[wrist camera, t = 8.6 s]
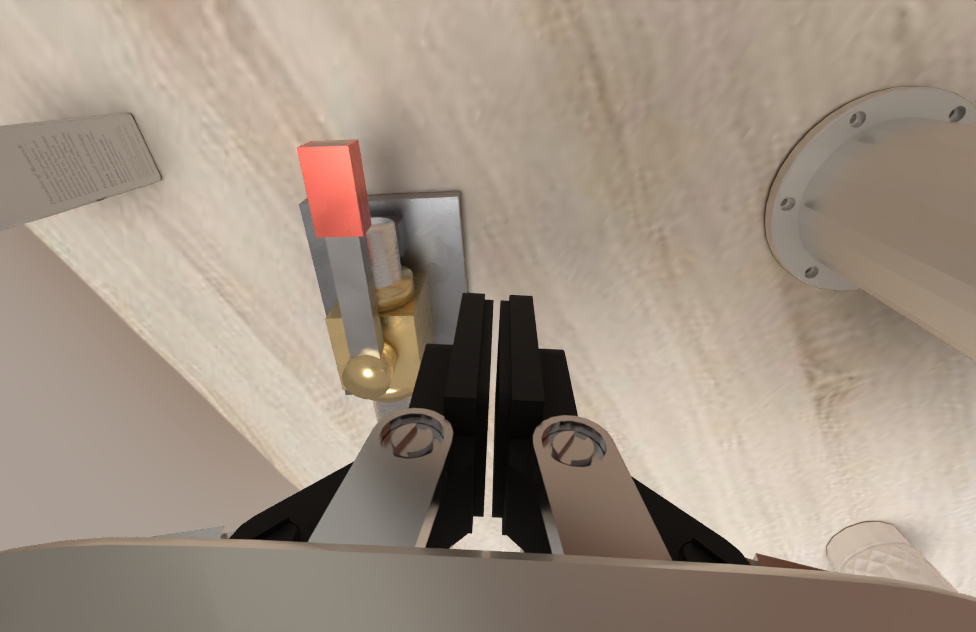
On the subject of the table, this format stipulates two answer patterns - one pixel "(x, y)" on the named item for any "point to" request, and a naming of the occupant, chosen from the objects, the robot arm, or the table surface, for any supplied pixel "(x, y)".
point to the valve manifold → (403, 281)
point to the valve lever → (349, 258)
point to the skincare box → (69, 165)
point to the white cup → (882, 555)
